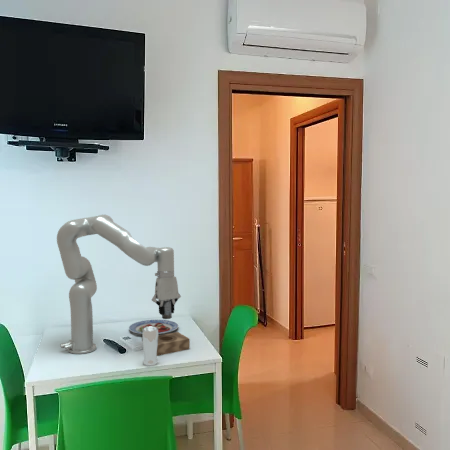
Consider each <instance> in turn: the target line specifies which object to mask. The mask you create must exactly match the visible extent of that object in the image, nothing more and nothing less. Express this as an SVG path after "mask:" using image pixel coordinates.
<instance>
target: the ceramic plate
mask: <svg viewBox="0 0 450 450" xmlns="http://www.w3.org/2000/svg"><path fill="white" fill-rule="evenodd" d="M149 326H153V327H157V328H158V335H164V334H169V333H173V332H174V331H176V330H177V329H178V328H179V323H177V322H175V321H172V320H169V319H144V320H140V321H136V322H134V323H132V324H130V325H129V327H128V330H129V331H130V332H133V333H135V334H138V335H142V329H143V328H144V327H149Z"/></svg>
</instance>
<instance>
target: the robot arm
mask: <svg viewBox="0 0 450 450" xmlns="http://www.w3.org/2000/svg"><path fill="white" fill-rule="evenodd" d="M58 229H59V230H58V232H57V235H56V244H57V247H58V248H57V249H58V251H59V254H60V258H61V262H62V266H63V270H64V273H65V275H66V278H68V279H70V280H73V281H74V282H75V283H74V284H72V286H71V287H70V289H69V292H68V299H69V308H70V335H71V336H70V339H69V341H68V342H64V343H60V349H65V350H66V349H67V352H68V353H71V354H75V355H80V354H83V355H84V354H88V353H93V352H94V351H95V350H97V347H98V346H97V344H95V343H94V323H93V322H94V319H93V317H94V315H93V303H92V297H93V296H94V295H95V293H97V289H98V287H97V281H96V278H95V274H94V270H93V266H92V264H91V262H90V260H89V259H88V258H87V257H85V256H82V254H81V251H80V247H79V245H78V243H77V239H79V238H83V237H86V236H92V235H97V236H100V237H102V238H103V239H105V240H106V241H108V242H109V243H111V244H112V245H114V246H116V247H117V248H118V249H119V250H120V251H121V252H123V253H124V254H125V255H127V256H128V257H129V258H130V259H132V260H134V261H135V262H137V263H138V264H140V265H142V266H145V267H148V266H151V265H153V264H155V263H157V264H156V265H157V271H156V272H155V273H154V276H155V277H156V279H155V286H154V295H153V296H152V299H151V302H153V303H155V304H156V305H157V306H158V313H159V315H161V316H162V315H164V307H163V300H171V306H172V314H174V313H175V305H176V303H177V302H178V300H180V298H181V297H182V296H181V294H180V293H179V285H178V280H177V276H176V275H175V254H174V253H175V251H174V248H172V247H169V246H168V247H167V246H164V247H155V246H147V247H145V246H144V245H143V244H141V243H139V242H138V241H137V240H135V238H134V237H133V236H132V235H131V233H130V231H128V230H127V229H125V228H123V227H122V226H121V225H119V224H117V223H116V222H115V221H114V220H113V218H112V217H111V216H110V215H107V214H99V215H95V216H89V217H82V218H76V219H70V220H69V221H67V222H65V223H63V225H62V226H61V227H60V228H58Z"/></svg>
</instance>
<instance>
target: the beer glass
mask: <svg viewBox="0 0 450 450" xmlns="http://www.w3.org/2000/svg"><path fill="white" fill-rule="evenodd" d="M158 341H159V336H158V328H157V327H153V326H149V327H144V328H143V329H142V334H141V343H142V350H143V361H142V363H143V365H144V366H147V367H148V366H149V367H150V366H156V365H157V364H159V363H158V356H157V348H158Z"/></svg>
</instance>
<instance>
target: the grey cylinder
mask: <svg viewBox="0 0 450 450" xmlns="http://www.w3.org/2000/svg"><path fill="white" fill-rule="evenodd" d="M163 307H164V315H161V319H162V320H169V319H172V316H173V315H172V314H173V313H172V306H171V300H163Z"/></svg>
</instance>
